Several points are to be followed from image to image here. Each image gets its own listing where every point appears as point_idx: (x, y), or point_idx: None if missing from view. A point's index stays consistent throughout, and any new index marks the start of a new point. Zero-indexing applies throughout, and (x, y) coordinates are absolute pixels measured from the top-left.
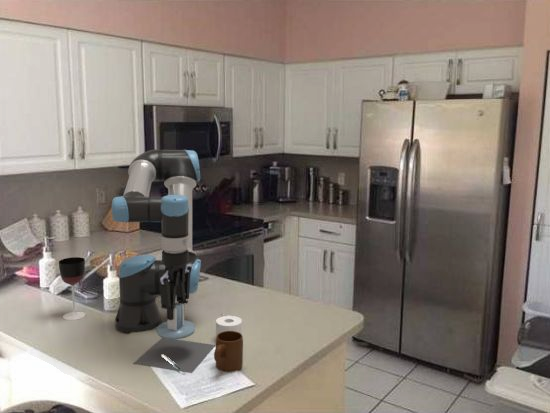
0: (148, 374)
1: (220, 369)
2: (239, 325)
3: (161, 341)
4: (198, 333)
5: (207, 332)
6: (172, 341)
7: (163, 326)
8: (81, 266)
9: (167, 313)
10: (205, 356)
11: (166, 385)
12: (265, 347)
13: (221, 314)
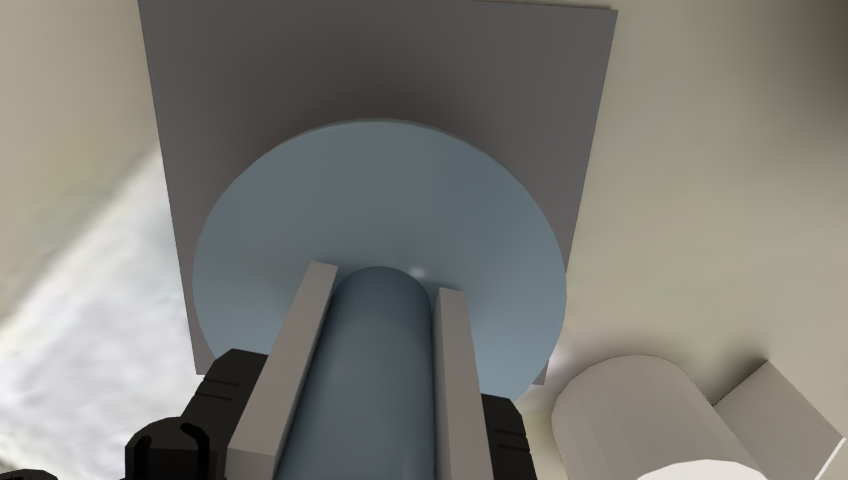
0: (92, 147)
1: None
2: None
3: (543, 35)
4: (727, 230)
5: (743, 278)
6: (555, 121)
7: (365, 188)
8: None
9: (186, 416)
10: None
11: (43, 292)
12: None
13: (839, 438)
